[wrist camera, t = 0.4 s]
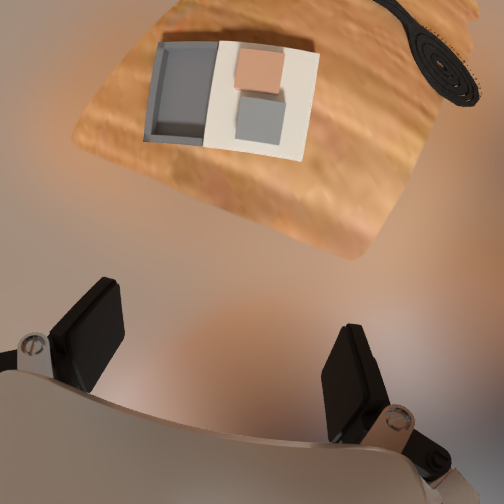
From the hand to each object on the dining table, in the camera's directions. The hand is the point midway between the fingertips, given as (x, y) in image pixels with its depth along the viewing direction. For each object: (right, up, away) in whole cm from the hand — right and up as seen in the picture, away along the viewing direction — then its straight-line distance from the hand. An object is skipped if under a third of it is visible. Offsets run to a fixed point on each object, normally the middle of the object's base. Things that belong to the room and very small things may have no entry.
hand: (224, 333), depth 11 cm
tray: (-8, +24, +21) cm, 33 cm away
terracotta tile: (+2, +24, +17) cm, 30 cm away
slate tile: (+2, +18, +20) cm, 27 cm away
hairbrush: (+24, +34, +15) cm, 44 cm away
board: (+2, +22, +21) cm, 31 cm away
